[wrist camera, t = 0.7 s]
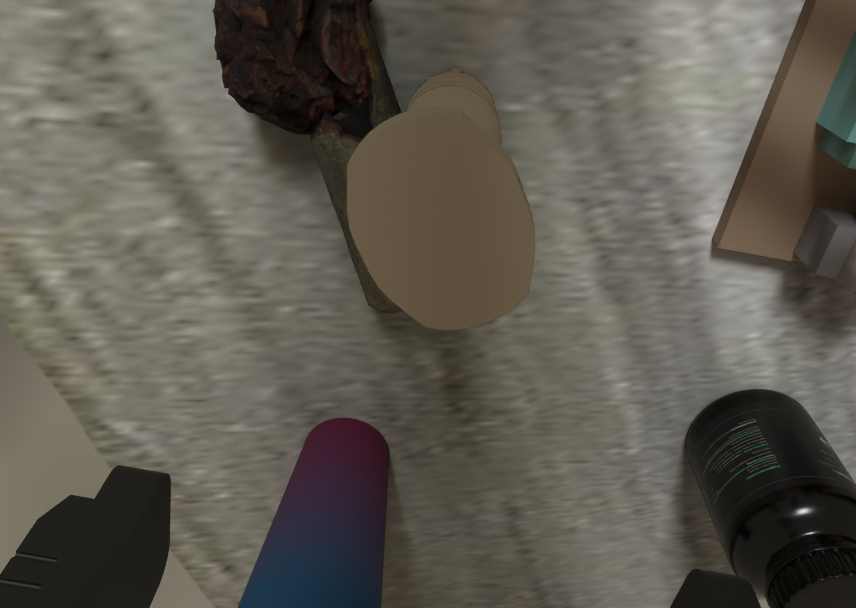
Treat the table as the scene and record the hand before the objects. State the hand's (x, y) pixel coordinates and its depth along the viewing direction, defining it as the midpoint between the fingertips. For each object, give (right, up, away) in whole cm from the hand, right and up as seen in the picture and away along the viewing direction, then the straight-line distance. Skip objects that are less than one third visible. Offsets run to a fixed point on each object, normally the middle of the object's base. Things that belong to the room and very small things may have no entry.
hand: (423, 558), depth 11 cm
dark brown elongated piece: (-4, +13, +23) cm, 27 cm away
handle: (+1, +13, +22) cm, 26 cm away
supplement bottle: (+18, -3, +31) cm, 36 cm away
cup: (-5, -5, +33) cm, 33 cm away
